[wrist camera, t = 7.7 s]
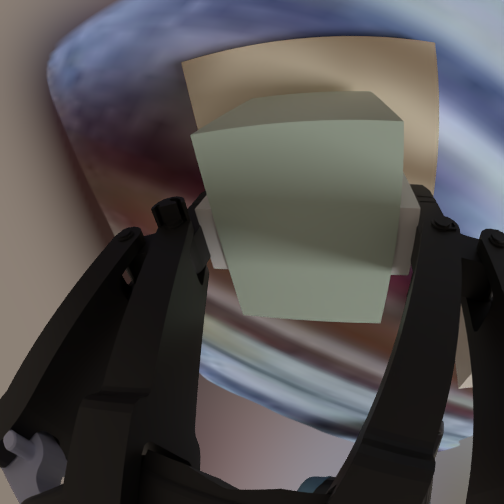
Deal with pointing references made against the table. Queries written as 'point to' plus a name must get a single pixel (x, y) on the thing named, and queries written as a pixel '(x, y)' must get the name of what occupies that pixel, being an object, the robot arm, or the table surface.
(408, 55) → the base plate
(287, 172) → the sage brick
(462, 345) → the cream brick
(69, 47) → the table surface
